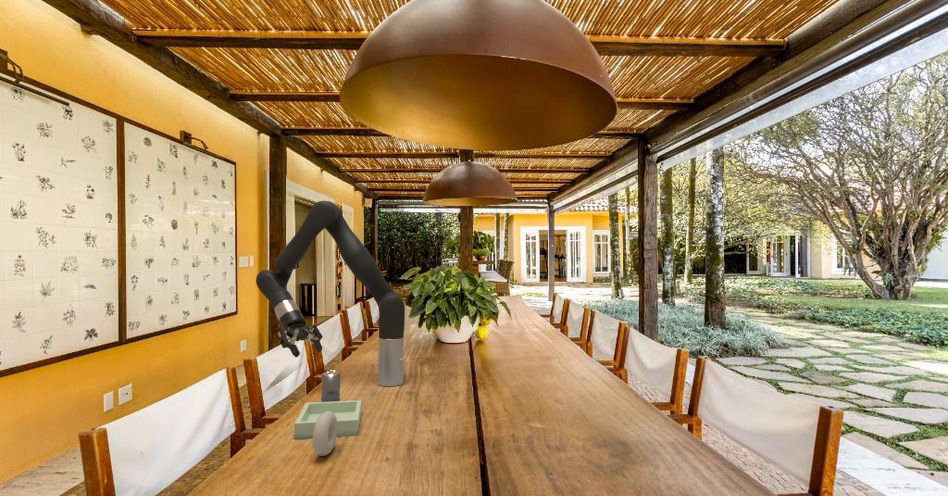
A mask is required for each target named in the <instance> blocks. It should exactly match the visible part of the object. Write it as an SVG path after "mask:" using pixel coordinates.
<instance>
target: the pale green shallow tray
mask: <svg viewBox="0 0 948 496" xmlns="http://www.w3.org/2000/svg"><path fill="white" fill-rule="evenodd" d="M326 411H330V412H332V413H334V414H335V416H336V418H337V423H338V431H337V437H347V436H348V437H350V436H358V435H359V429H360V423H361V416H362V399H361V400H358V399H357V400H340V401H334V402H320V401H319V402H317V401H316V402H306V403H304V405H303V407H302V409H301V411H300V413H299V415H298V417H297V418H296V420H295V422H294V433H293V436H294V437H293V438H294V440H300V439H303V440H304V439H313V432H314V427H315V424H316V422H317V419H318V418H319V416H320V415H321V414H322V413H324V412H326Z"/></svg>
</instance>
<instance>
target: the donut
mask: <svg viewBox="0 0 948 496" xmlns="http://www.w3.org/2000/svg"><path fill="white" fill-rule="evenodd" d="M337 431H338V423H337V418H336V416H335V414H334V413H332V412H330V411H326V412H324V413H322V414H321V415H320V416H319V418H318V419H317V422H316V424H315V427H314V432H313V438H312V446H313V450H314V452H315V453H316V455H318V456H321V457H325V456H327V455H329V454H330V453H331V452H332V450H333V449H334V446H335V444H336V442H337V437H338V436H337Z"/></svg>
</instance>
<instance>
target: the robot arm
mask: <svg viewBox="0 0 948 496" xmlns="http://www.w3.org/2000/svg"><path fill="white" fill-rule="evenodd" d="M324 229H325V230H326V231H327V233H328V234H329V235H330V236H331V238H332V239H333V241H334V242H335V245H336V247H337V249H338V251H339V254H340V256H341V258H342V261H343V262H344V263H345V265H346V266H347V268H348V270H350V271H351V273H352V275H354V276H355V278H356V279H357V280H358V281H359V283H360V284H361V285H363V286H364V287H365V289H367V290H368V292H369V293H370V294H371V296H372V297H373V299H374V301H375V302H376V304H377V306H378V308H379V316H378V319H379V320H378V327H379V328H378V360H377V361H378V363H377V365H378V366H377V385H379V386H381V387H396V386H397V387H398V386H400V385H401V386H402V385H404V360H405V359H404V343H405V342H404V340H405V338H404V337H405V321H406V320H405V318H406V307H405V306H406V305H405V302H404V300H403V299H402V297H401V296H400V295H399V294H398V293H397V292H396V291H395V290H394V289H393V287H391V285H390V284H389V283H388V282H387V280H386V278H385V277H384V275H383V273H382V271H381V269H380V268H379V266H378V264H377V262H376V261H375V259H374V258H373V256H372V255H371V252H370V251H369V250H368V249H367V248H366V247H365V246H366V245H364V244H363V243H362V242H361V240H360V239H359V238H358V236H357V235H356V234H355V232H353V230H352V229H351V227H350V226H349V225H348V223H347V221H346V219H345V217H344V216H343V214H342V211H341V210H340V208H339V207H338V206H337V204H335V203H334V202H332V201H330V200H320V201H317V202H315V203H313V205H312V206H311V208H310V210H309V212H308V214H307V215H306V217H305V219H304V221H303V222H302V224H301V226H300V227H299V229H298V230H297V232H296V233H295V235H294V236H293V237H292V239H290V241H289V242H288V244H287V245H286V246H285V247H284V248H283V250H281V252H280V253H279V255H277V257H276V258H275V261H274V264H275V266H276V267H277V268H278V269H277V271H273V270H269V269H263V270H260V271H259V272H258V273H257V275H256V277H255V283H256V286H257V288H258V289H259V291H260V292H261V293H262V295H263V296H264V297H265V299H267V300H268V301H269V302H270V305H271V306H272V308H273V310H274V313H275V316H276V318H277V320H278V322H279V324H280V326H281V329H280V330H279V331H278V333H277V334H276V336H277V339H278V340H279V341H278V342H279V343H280V345H281V348H282V349H286V348H287V349H289V350H290V352H291V355H292V356H293V357H294V358H298V357H299V356H300V355H301V352H300V350H299V348H298V346H297V344H296V342H300V341H306V342H309V343H312V344H313V346H314V349H315V351H316V352H317V353H318V354H319V353H321V352H322V350H323V346H322V345H323V344H322V343H321V342H320V341H321V340H322V339H323V337H324V336H323V334H322V333H321V332H320V329H319V328H318V326H317V325H316V324H313V325H311V326H308V325H307V323H306V319H305V316H304V315H303V313H302V311H301V310H300V308H299V306H298V305H297V303H296V302H295V300H294V298H293V297H292V294H291V293H290V291H288V290H287V289H285V287H286V286H287V285H288V283H289V280H290V278H291V276H292V274H293V271H294V270H295V268H296V267H297V266H298V264H299V263H300V262H301V261H302V259H304V256H305V255H306V253H307V252H308V250H309V248H310V246H311V245H312V243H313V241H314V240H315V239H316V238H317V236H318V235H319V234H320V233H321V232H322V231H323V230H324ZM288 338H289V340H288Z"/></svg>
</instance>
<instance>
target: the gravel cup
mask: <svg viewBox="0 0 948 496" xmlns="http://www.w3.org/2000/svg"><path fill="white" fill-rule="evenodd" d="M340 395H341V372H340V371H337V370H336V369H329V370H327V371H325V372H322V374H321V395H320V396H321V398H320V399H321V400H320V401H321V402H334V401H341V399H340V398H341V396H340Z"/></svg>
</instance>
